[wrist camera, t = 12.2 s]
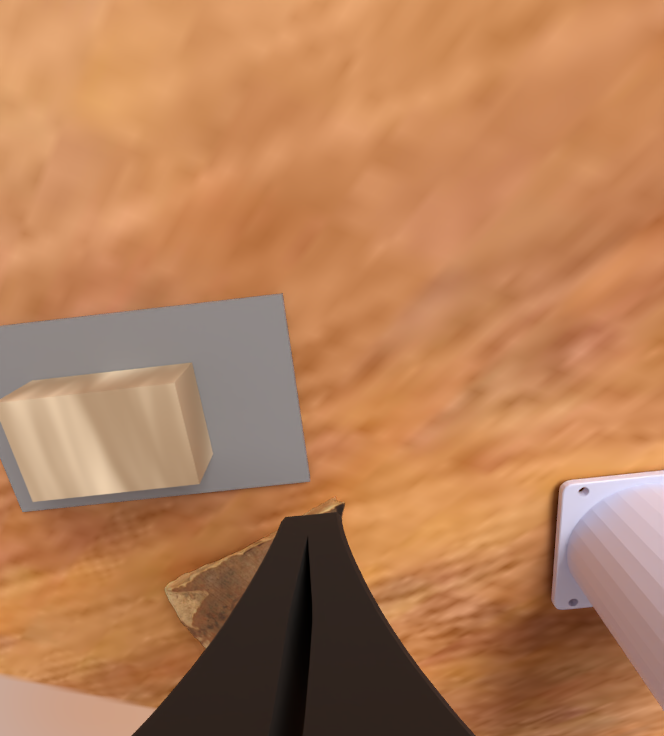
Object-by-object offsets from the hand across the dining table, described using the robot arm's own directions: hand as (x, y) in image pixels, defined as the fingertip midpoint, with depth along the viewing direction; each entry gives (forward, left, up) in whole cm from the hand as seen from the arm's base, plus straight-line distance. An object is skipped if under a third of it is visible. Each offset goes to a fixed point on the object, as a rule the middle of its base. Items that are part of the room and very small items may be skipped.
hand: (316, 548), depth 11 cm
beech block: (+5, 0, -8) cm, 10 cm away
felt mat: (+8, 0, -10) cm, 13 cm away
